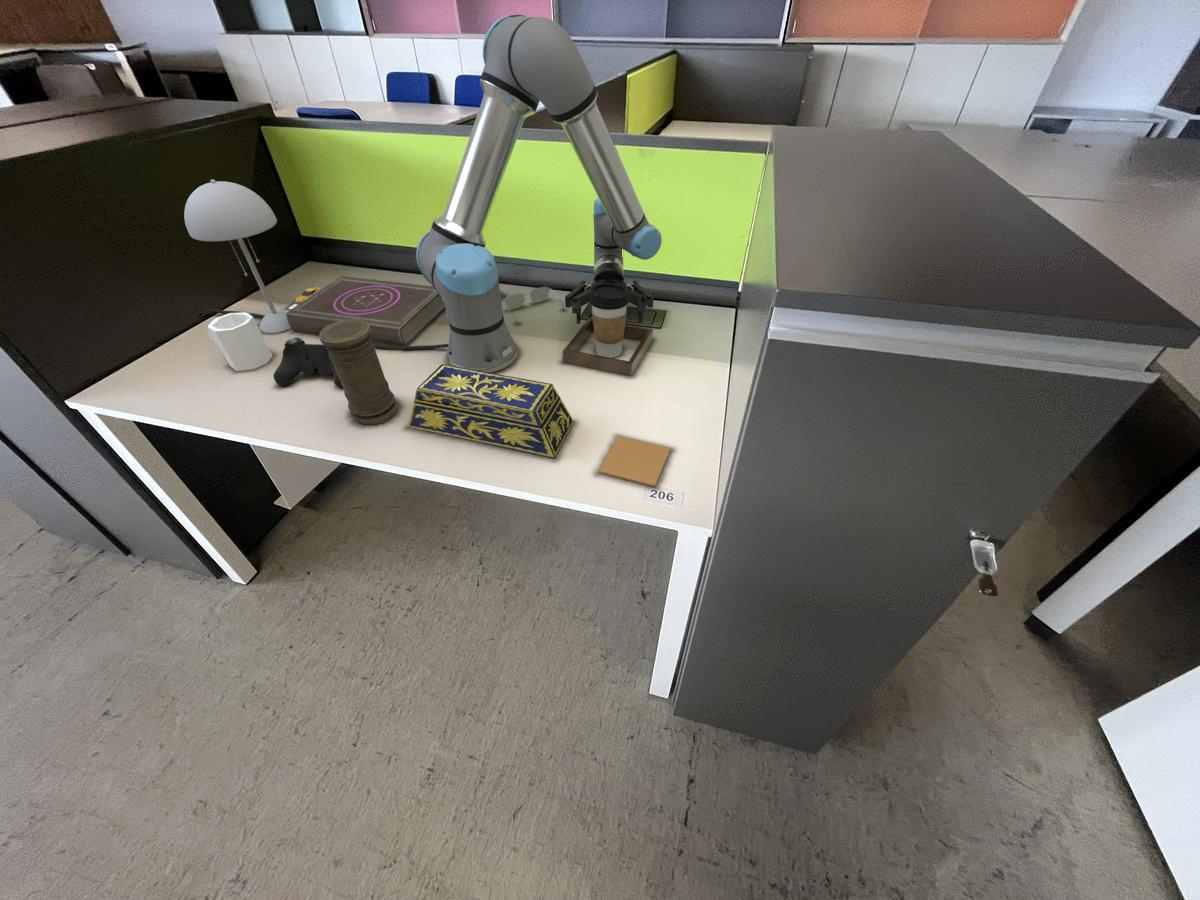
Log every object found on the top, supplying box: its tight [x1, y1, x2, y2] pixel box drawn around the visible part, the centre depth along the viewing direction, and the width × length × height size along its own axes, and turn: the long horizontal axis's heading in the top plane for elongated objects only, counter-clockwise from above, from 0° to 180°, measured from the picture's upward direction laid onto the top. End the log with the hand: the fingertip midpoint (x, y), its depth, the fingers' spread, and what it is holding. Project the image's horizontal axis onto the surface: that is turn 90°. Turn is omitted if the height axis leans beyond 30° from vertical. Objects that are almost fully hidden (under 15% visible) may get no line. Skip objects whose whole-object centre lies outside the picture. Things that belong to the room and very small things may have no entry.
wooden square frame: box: [562, 317, 654, 377], centre depth 118 cm, size 16×16×3 cm
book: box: [286, 275, 446, 346], centre depth 130 cm, size 30×22×5 cm
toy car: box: [287, 286, 322, 310], centre depth 138 cm, size 4×8×2 cm, turn 164°
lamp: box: [183, 179, 292, 334], centre depth 119 cm, size 17×17×33 cm
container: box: [319, 320, 399, 426], centre depth 97 cm, size 9×9×18 cm
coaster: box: [598, 435, 671, 488], centre depth 92 cm, size 10×10×1 cm
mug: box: [206, 311, 273, 372], centre depth 114 cm, size 12×9×10 cm
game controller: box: [272, 336, 343, 389], centre depth 110 cm, size 16×7×10 cm, turn 86°
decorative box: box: [408, 363, 575, 459], centre depth 97 cm, size 11×30×9 cm, turn 72°
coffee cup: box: [589, 283, 630, 358], centre depth 114 cm, size 8×8×15 cm
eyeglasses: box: [501, 286, 565, 325], centre depth 133 cm, size 14×8×4 cm, turn 122°
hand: (609, 318), depth 113 cm, fingers open, 13 cm apart
